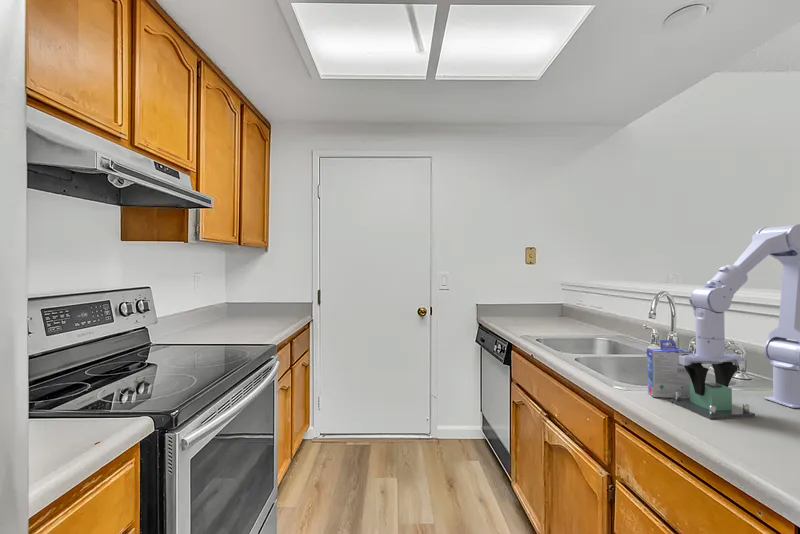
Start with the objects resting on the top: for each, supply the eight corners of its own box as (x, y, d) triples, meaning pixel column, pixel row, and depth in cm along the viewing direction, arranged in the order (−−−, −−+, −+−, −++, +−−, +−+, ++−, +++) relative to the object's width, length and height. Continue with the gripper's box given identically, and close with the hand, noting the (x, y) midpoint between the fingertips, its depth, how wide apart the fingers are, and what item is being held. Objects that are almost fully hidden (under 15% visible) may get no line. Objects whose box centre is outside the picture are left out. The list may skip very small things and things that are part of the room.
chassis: (710, 399, 116) (710, 389, 116) (755, 417, 103) (755, 405, 103) (670, 401, 115) (670, 391, 115) (710, 419, 102) (710, 407, 102)
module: (708, 400, 113) (708, 379, 113) (731, 409, 106) (731, 386, 106) (689, 401, 113) (689, 379, 113) (711, 410, 106) (711, 387, 106)
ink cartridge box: (686, 393, 122) (685, 339, 122) (695, 399, 117) (694, 343, 117) (646, 391, 124) (645, 339, 124) (653, 397, 119) (652, 342, 119)
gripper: (694, 340, 105) (694, 400, 105) (752, 339, 106) (752, 397, 106) (672, 336, 112) (673, 391, 112) (727, 334, 113) (728, 389, 113)
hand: (710, 393), depth 109 cm, fingers closed on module, 5 cm apart
